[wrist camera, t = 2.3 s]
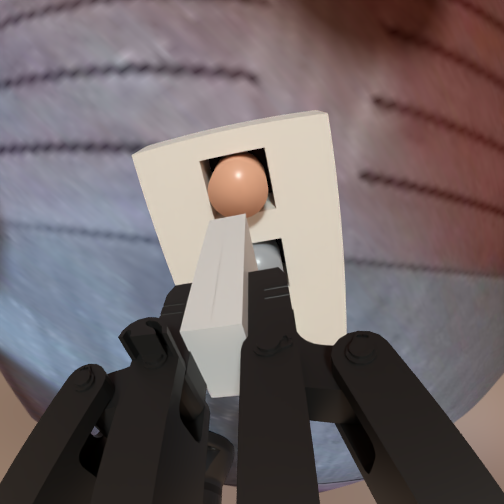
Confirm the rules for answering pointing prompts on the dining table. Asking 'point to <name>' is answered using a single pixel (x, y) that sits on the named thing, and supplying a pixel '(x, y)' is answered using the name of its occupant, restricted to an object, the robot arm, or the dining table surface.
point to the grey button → (267, 255)
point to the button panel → (269, 217)
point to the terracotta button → (238, 185)
